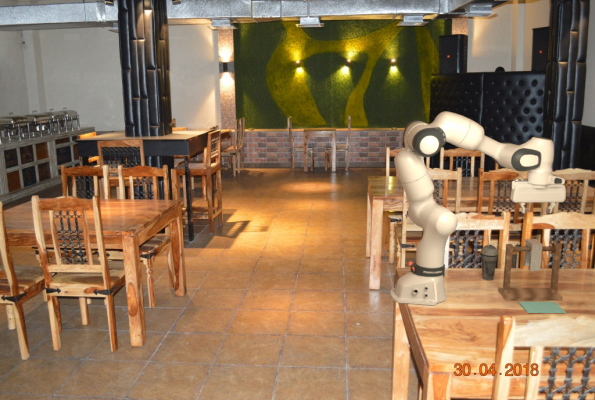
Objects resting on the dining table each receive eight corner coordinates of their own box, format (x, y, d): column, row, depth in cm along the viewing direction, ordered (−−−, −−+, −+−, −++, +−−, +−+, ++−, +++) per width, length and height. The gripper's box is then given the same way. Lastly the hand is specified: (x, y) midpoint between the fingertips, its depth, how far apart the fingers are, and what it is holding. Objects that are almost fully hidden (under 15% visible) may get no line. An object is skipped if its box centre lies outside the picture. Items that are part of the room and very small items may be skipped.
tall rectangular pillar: (529, 270, 213) (532, 244, 210) (523, 264, 219) (525, 239, 217) (540, 270, 212) (542, 244, 210) (533, 264, 219) (535, 239, 217)
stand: (506, 300, 214) (510, 248, 209) (498, 290, 224) (501, 241, 219) (562, 300, 213) (567, 248, 208) (551, 290, 223) (556, 240, 218)
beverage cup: (497, 282, 233) (500, 238, 229) (480, 281, 235) (483, 237, 230) (495, 276, 240) (498, 233, 236) (478, 275, 242) (480, 232, 237)
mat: (528, 313, 202) (528, 312, 202) (518, 303, 212) (518, 301, 211) (566, 314, 201) (566, 312, 201) (554, 303, 211) (554, 301, 211)
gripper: (514, 180, 205) (512, 215, 208) (569, 179, 204) (566, 214, 207) (509, 177, 211) (506, 211, 214) (562, 176, 210) (558, 210, 214)
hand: (536, 213), depth 211 cm, fingers open, 8 cm apart
